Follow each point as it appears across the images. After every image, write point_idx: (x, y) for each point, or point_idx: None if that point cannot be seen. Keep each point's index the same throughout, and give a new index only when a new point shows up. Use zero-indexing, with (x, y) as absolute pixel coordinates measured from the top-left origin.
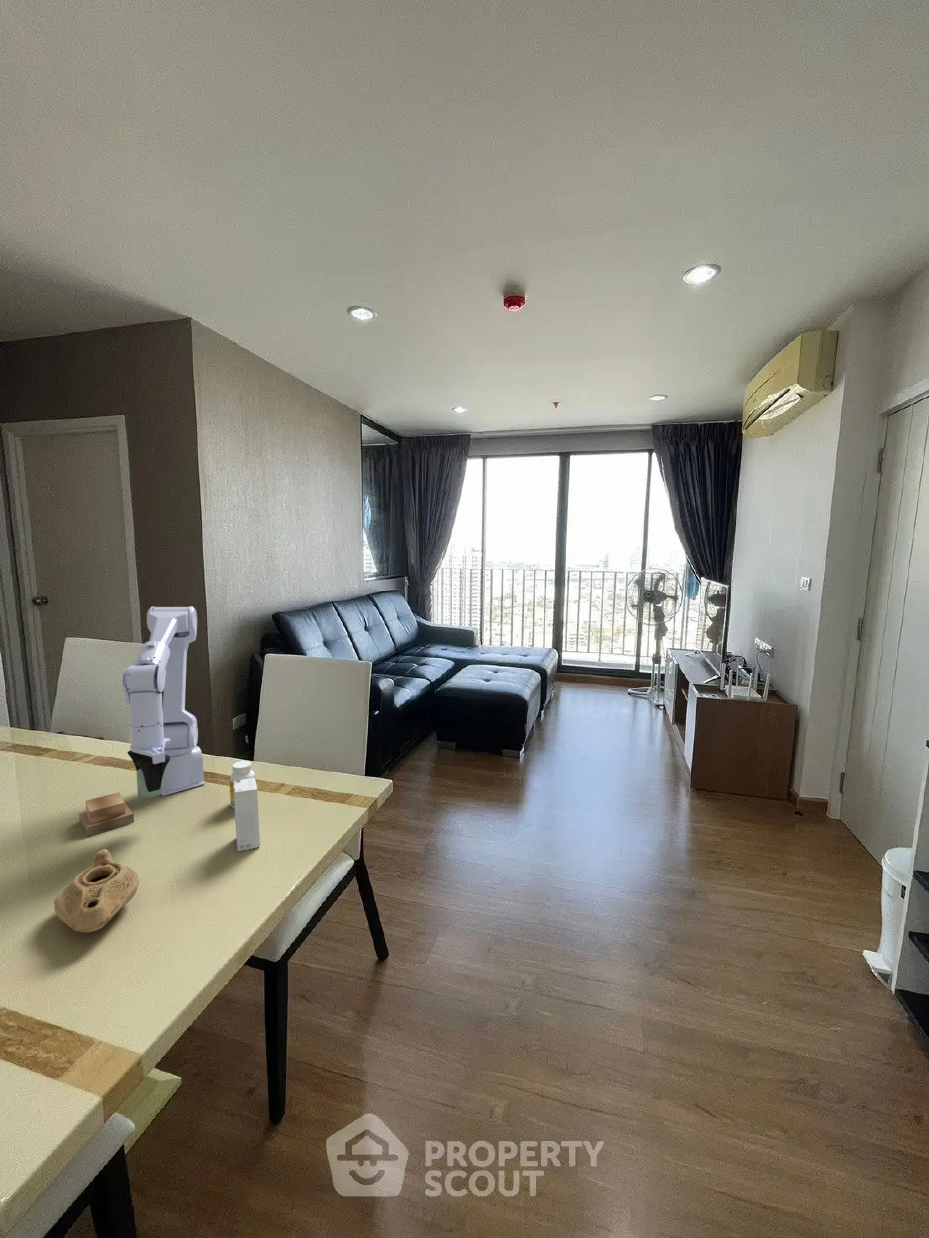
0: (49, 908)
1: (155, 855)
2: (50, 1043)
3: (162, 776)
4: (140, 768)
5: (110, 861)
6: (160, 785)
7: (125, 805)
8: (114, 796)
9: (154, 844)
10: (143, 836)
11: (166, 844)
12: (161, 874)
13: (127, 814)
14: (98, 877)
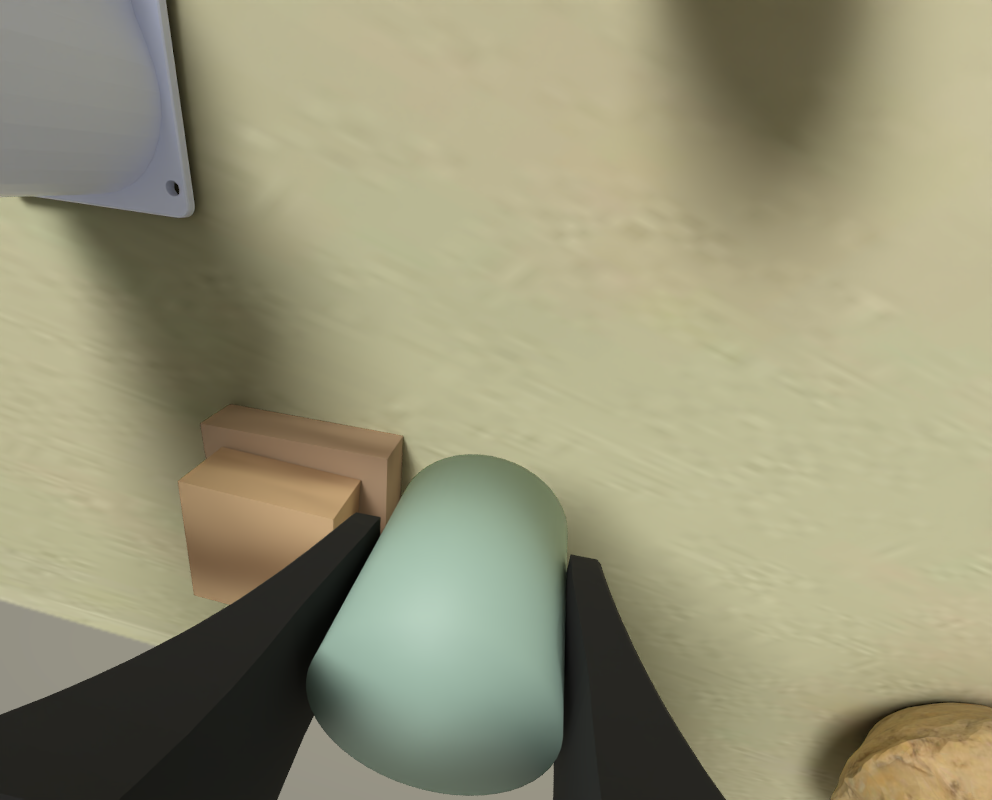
0: (763, 771)
1: (792, 517)
2: None
3: (640, 662)
4: (328, 733)
5: None
6: (604, 583)
7: (266, 441)
8: (222, 514)
9: (694, 478)
10: (576, 471)
11: (748, 450)
12: (965, 570)
13: (375, 476)
14: (853, 756)
